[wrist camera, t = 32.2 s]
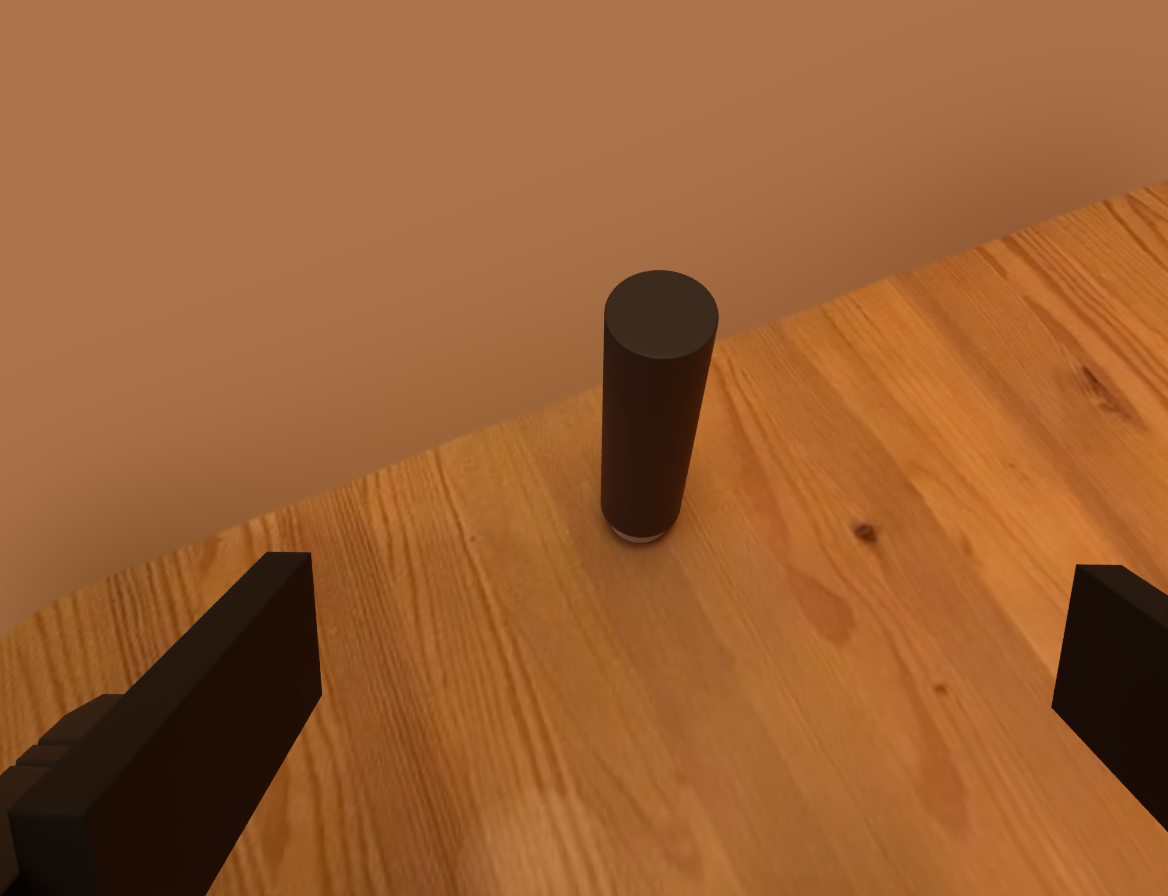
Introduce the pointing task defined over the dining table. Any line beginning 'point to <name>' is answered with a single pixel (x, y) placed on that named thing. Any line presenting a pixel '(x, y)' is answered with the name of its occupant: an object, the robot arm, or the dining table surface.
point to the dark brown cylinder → (652, 397)
